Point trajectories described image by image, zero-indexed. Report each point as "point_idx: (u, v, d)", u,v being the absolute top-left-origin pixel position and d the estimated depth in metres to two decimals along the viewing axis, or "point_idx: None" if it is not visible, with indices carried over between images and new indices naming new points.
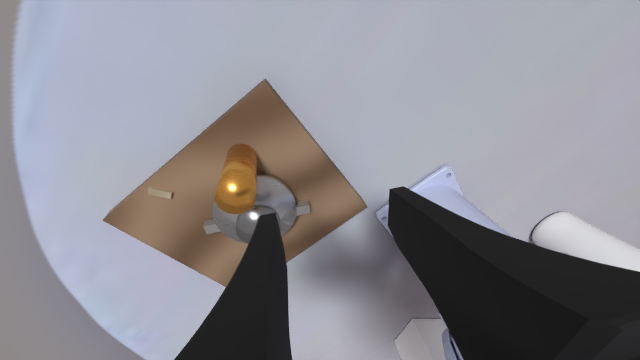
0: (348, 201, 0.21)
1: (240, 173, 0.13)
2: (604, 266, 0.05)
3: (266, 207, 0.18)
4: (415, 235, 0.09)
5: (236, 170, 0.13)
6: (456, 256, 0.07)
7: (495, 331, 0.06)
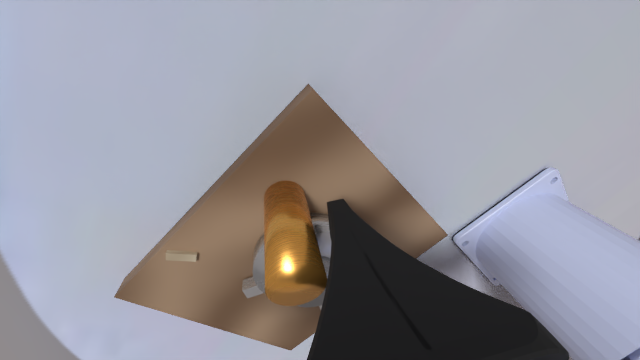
0: (424, 231, 0.16)
1: (297, 242, 0.08)
2: (486, 298, 0.05)
3: (323, 259, 0.13)
4: None
5: (290, 236, 0.08)
6: None
7: None
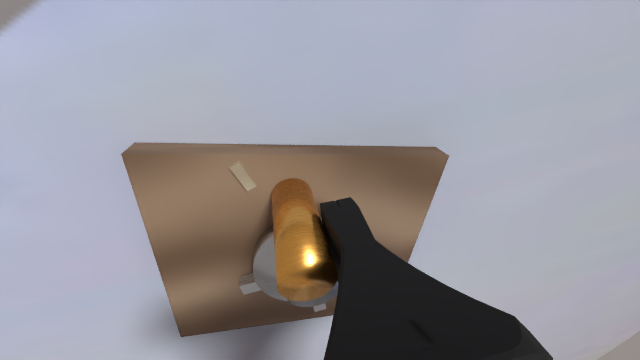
0: None
1: (311, 238, 0.08)
2: (472, 302, 0.05)
3: None
4: (335, 253, 0.09)
5: (303, 232, 0.09)
6: None
7: None
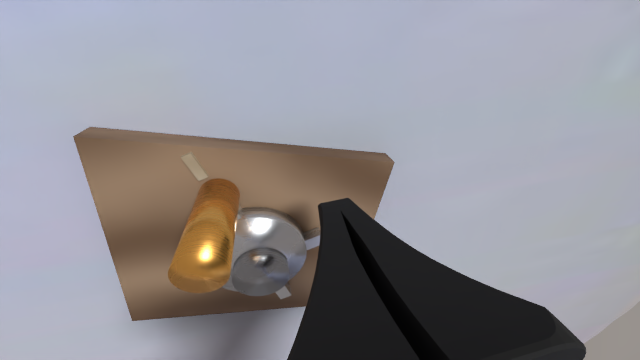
0: None
1: (201, 235, 0.09)
2: (500, 294, 0.05)
3: (265, 250, 0.14)
4: None
5: (197, 230, 0.09)
6: (376, 276, 0.07)
7: None
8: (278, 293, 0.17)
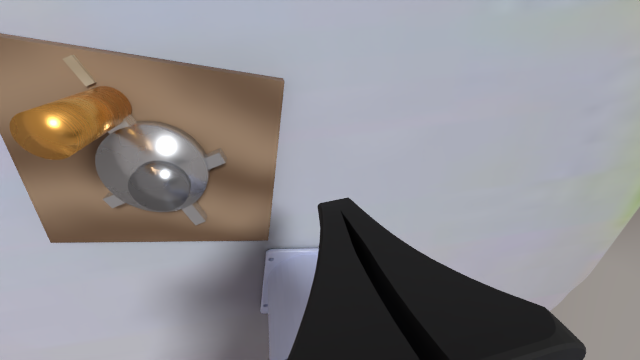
0: (258, 224, 0.20)
1: (50, 104, 0.10)
2: (501, 294, 0.05)
3: (160, 162, 0.15)
4: None
5: (49, 103, 0.10)
6: (376, 276, 0.07)
7: None
8: (191, 218, 0.18)
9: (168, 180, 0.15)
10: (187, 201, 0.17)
